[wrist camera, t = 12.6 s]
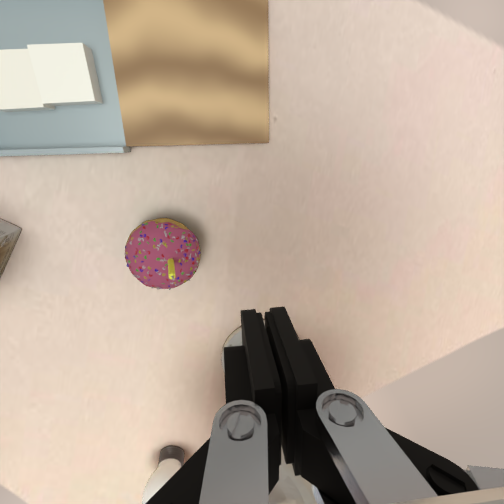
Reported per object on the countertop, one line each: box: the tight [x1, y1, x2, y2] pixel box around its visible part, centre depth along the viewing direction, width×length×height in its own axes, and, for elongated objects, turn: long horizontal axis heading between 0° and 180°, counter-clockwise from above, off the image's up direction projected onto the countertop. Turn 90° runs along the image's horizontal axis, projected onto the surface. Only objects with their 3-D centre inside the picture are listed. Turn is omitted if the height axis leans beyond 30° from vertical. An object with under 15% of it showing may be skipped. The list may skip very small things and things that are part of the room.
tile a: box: [27, 43, 103, 106], centre depth 31 cm, size 5×5×2 cm
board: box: [103, 0, 269, 146], centre depth 33 cm, size 14×16×2 cm
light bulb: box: [142, 446, 184, 504], centre depth 47 cm, size 7×7×11 cm
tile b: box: [0, 49, 55, 112], centre depth 30 cm, size 5×5×2 cm
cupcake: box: [125, 218, 201, 290], centre depth 34 cm, size 9×8×12 cm
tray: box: [0, 0, 131, 156], centre depth 30 cm, size 15×15×3 cm
